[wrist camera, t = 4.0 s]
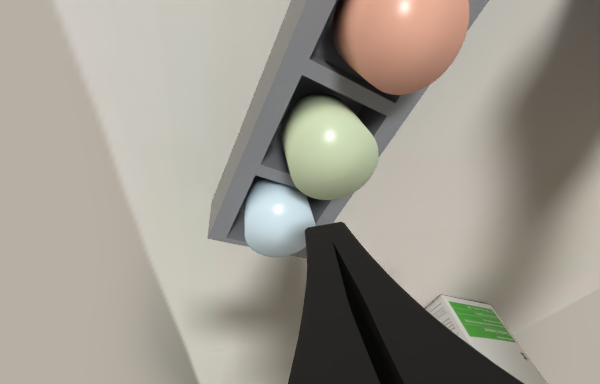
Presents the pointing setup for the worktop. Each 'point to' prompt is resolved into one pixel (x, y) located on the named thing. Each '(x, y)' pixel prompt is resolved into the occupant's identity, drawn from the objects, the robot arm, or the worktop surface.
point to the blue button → (276, 218)
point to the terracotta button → (400, 40)
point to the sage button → (327, 147)
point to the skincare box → (485, 335)
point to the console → (286, 92)
